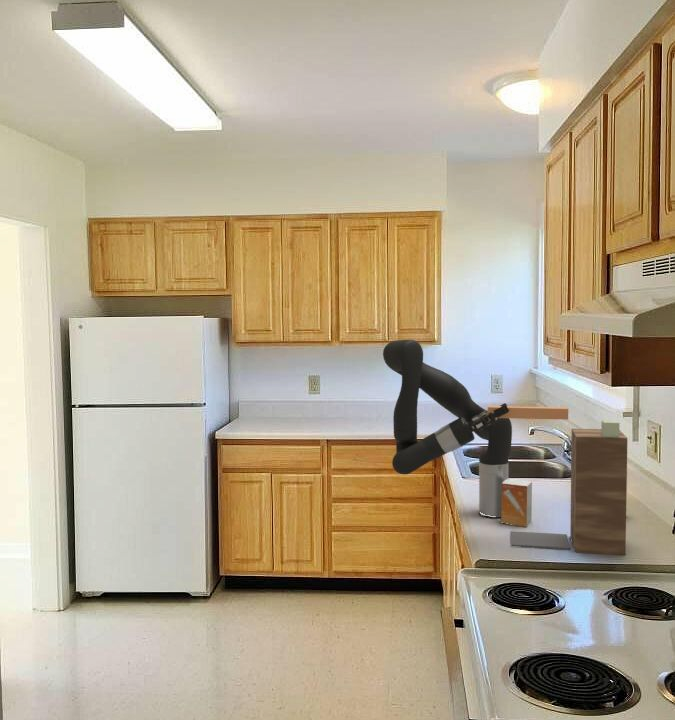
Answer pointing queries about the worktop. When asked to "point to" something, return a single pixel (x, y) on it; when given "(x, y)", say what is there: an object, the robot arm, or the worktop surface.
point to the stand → (598, 492)
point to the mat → (540, 540)
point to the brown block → (533, 412)
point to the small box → (516, 502)
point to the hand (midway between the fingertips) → (507, 407)
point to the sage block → (610, 428)
